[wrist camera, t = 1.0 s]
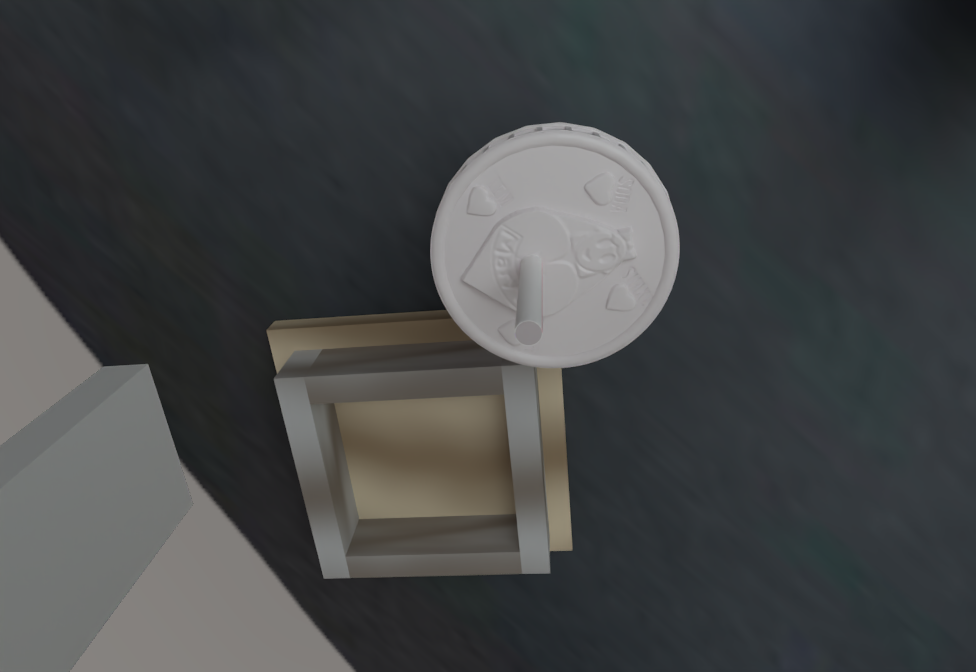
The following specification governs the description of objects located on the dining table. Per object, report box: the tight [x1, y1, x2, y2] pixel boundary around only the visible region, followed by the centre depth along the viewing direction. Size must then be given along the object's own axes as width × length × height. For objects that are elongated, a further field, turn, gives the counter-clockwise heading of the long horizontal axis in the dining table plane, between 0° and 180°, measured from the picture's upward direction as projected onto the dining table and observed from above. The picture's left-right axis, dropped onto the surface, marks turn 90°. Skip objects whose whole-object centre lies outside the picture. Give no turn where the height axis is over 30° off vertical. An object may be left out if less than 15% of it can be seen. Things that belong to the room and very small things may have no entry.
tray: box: [266, 310, 572, 579], centre depth 30 cm, size 12×12×4 cm
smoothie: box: [430, 122, 680, 368], centre depth 20 cm, size 6×6×14 cm
